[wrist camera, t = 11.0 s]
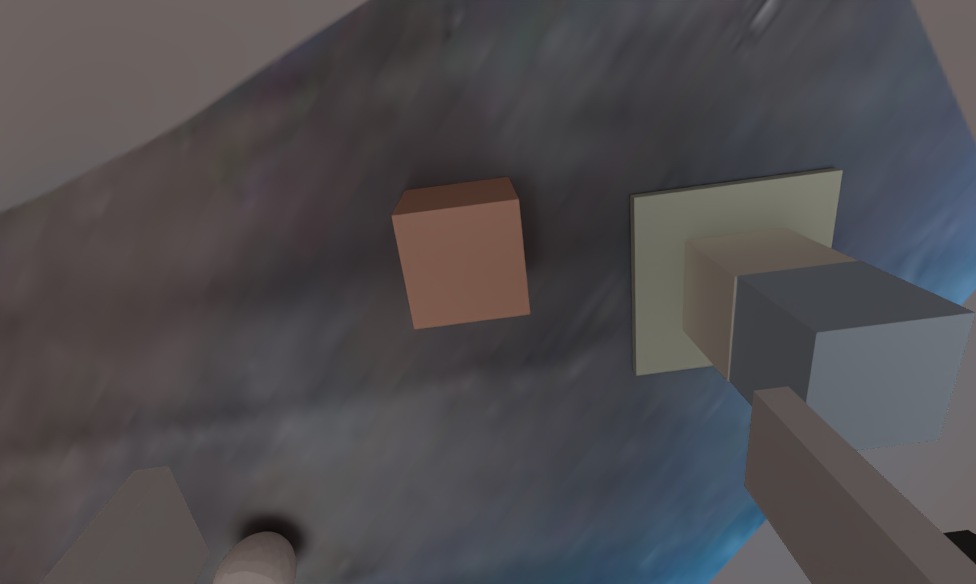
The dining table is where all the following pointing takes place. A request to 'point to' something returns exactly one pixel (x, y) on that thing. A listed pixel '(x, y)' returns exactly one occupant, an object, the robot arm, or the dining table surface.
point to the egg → (259, 561)
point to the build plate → (705, 214)
